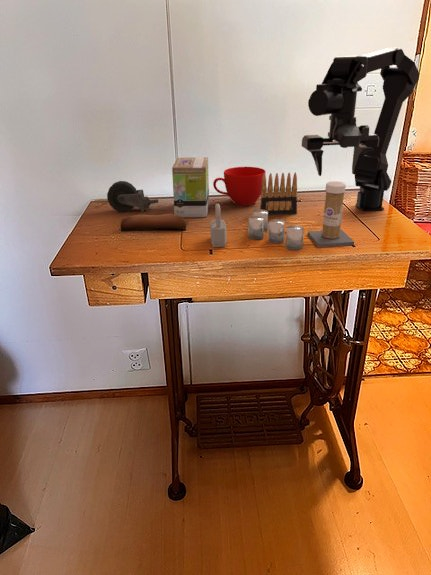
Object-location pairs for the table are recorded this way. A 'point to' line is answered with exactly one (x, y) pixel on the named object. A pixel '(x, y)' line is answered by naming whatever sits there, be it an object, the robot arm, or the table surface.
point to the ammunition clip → (279, 195)
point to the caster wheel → (127, 197)
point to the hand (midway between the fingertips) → (336, 174)
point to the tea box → (191, 187)
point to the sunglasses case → (153, 222)
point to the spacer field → (275, 230)
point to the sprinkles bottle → (333, 209)
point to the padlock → (218, 229)
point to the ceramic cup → (242, 184)
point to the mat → (326, 242)
